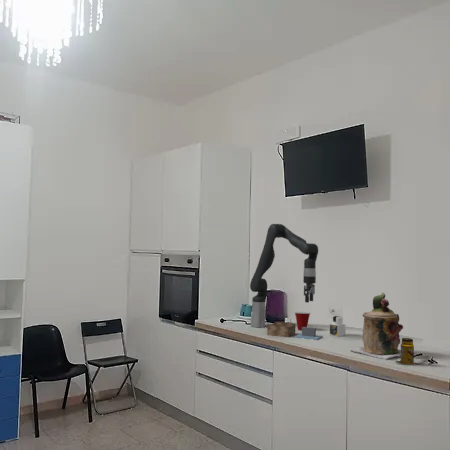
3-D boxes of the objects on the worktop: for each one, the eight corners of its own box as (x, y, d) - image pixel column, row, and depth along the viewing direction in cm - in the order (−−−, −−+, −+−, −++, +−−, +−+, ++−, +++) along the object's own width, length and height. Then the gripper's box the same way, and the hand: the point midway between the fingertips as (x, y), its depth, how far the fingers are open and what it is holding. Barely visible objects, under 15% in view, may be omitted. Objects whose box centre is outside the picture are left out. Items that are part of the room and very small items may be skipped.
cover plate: (294, 338, 305) (294, 327, 306) (300, 335, 316) (300, 325, 316) (316, 341, 299) (317, 330, 299) (322, 338, 309) (322, 327, 310)
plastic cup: (309, 328, 341) (310, 311, 342) (310, 331, 330) (311, 313, 331) (293, 328, 342) (294, 310, 343) (294, 330, 331) (294, 312, 332)
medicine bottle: (329, 334, 320) (329, 315, 320) (338, 334, 323) (338, 315, 323) (336, 336, 313) (337, 317, 314) (345, 335, 317) (345, 316, 317)
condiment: (416, 365, 238) (416, 340, 239) (397, 364, 239) (397, 339, 240) (412, 362, 245) (412, 337, 246) (394, 361, 247) (395, 336, 247)
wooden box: (267, 334, 313) (267, 324, 313) (274, 332, 325) (275, 321, 325) (288, 337, 307) (288, 326, 307) (295, 334, 318) (295, 323, 318)
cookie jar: (347, 351, 268) (348, 291, 269) (375, 346, 283) (376, 290, 284) (387, 360, 248) (388, 296, 250) (415, 354, 263) (415, 294, 265)
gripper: (307, 274, 317) (306, 300, 316) (300, 275, 304) (299, 302, 304) (318, 275, 314) (318, 301, 313) (311, 276, 301) (311, 303, 300)
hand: (309, 301), depth 308 cm, fingers open, 8 cm apart
